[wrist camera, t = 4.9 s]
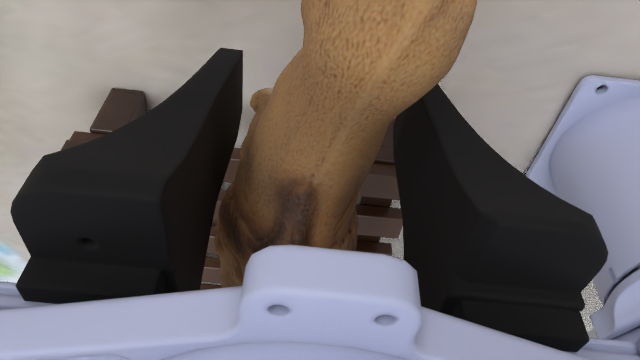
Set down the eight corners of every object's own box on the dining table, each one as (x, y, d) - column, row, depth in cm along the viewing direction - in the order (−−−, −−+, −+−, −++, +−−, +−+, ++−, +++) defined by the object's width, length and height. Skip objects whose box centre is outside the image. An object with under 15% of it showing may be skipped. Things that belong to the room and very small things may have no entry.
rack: (413, 120, 26) (427, 218, 21) (352, 314, 40) (353, 396, 36) (97, 85, 25) (42, 179, 21) (150, 295, 39) (125, 377, 35)
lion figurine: (369, 194, 21) (377, 423, 15) (241, 176, 20) (191, 404, 14) (529, -282, 10) (806, -197, 4) (271, -339, 10) (133, -344, 4)
